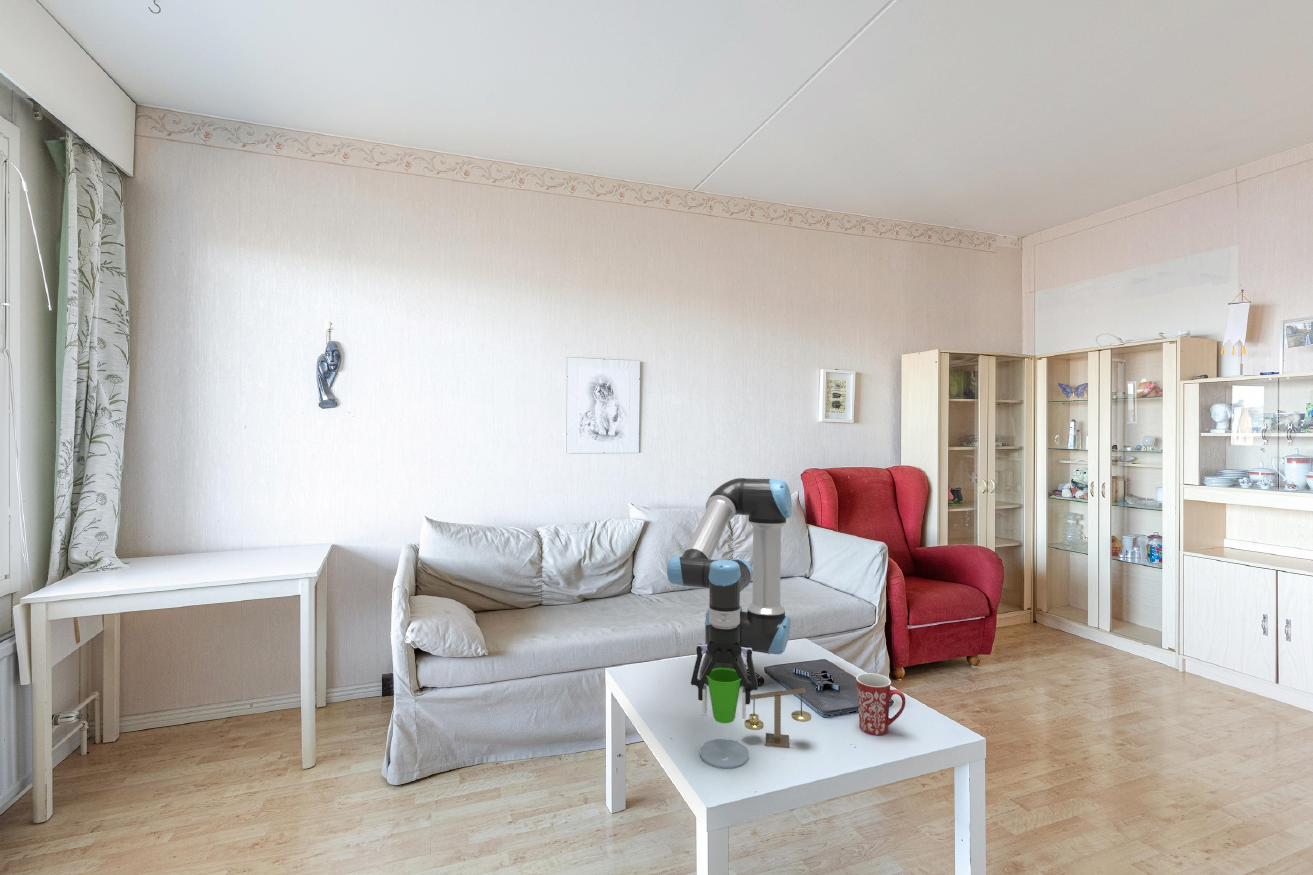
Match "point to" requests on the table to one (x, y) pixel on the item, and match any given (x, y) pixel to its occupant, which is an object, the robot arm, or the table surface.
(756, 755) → the table surface
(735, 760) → the dish
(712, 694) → the cup
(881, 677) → the mug
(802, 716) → the balance
